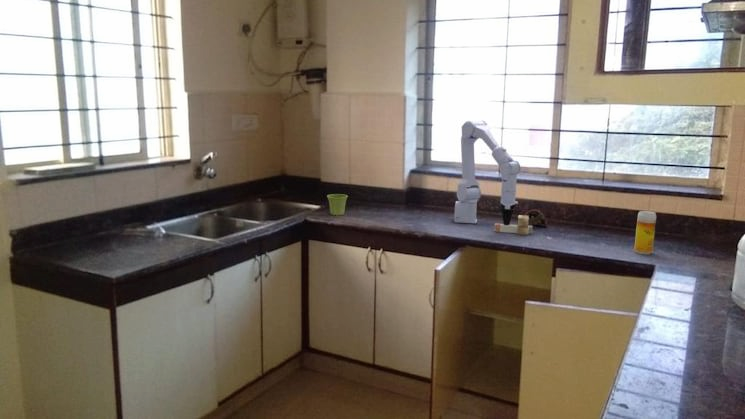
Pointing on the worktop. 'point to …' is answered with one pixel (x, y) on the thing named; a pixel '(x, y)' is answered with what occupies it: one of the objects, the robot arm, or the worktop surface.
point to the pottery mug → (536, 217)
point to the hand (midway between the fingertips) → (506, 223)
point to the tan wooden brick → (522, 224)
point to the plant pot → (337, 203)
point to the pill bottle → (645, 232)
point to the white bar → (510, 228)
